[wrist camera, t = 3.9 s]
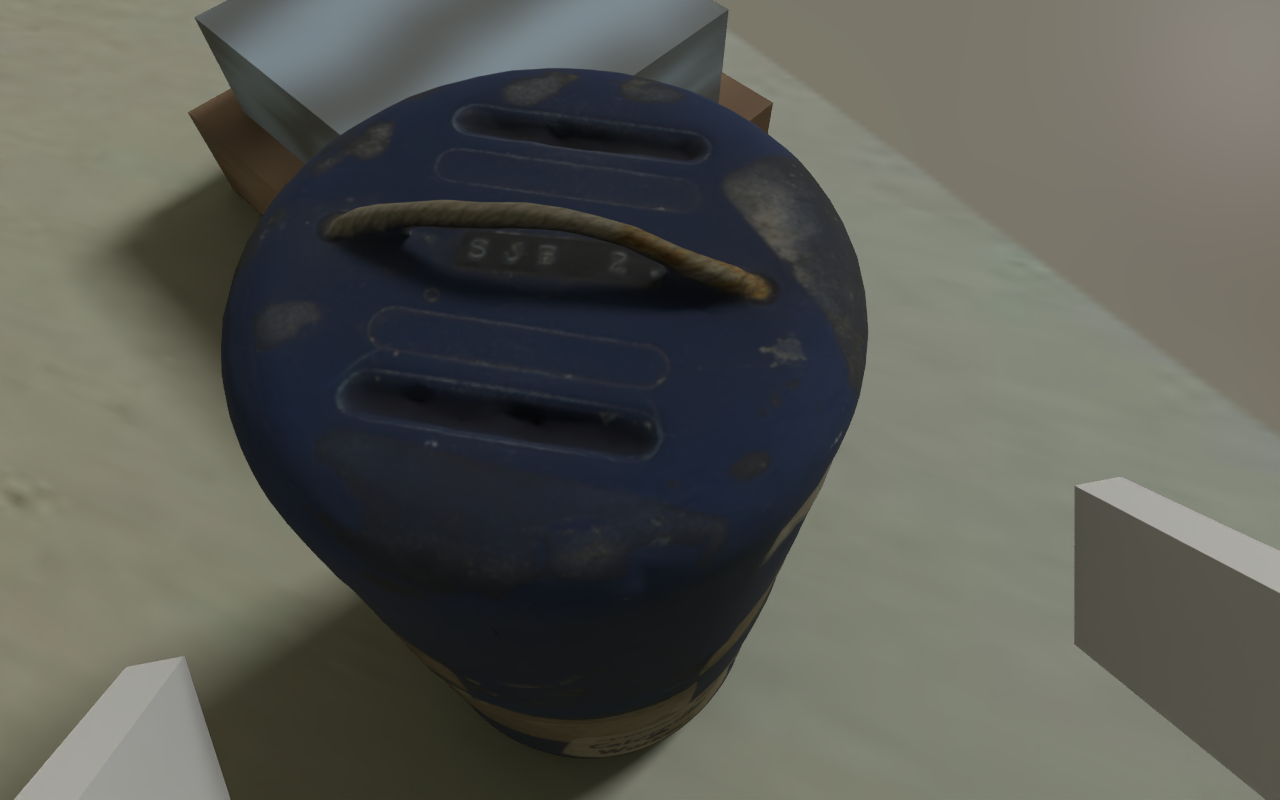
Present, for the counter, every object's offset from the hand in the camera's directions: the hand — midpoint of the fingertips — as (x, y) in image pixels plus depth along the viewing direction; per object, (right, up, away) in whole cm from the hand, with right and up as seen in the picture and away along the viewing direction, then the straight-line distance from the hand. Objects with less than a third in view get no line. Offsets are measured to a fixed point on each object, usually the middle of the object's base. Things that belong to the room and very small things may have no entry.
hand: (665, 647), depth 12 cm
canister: (-2, -3, +14) cm, 15 cm away
